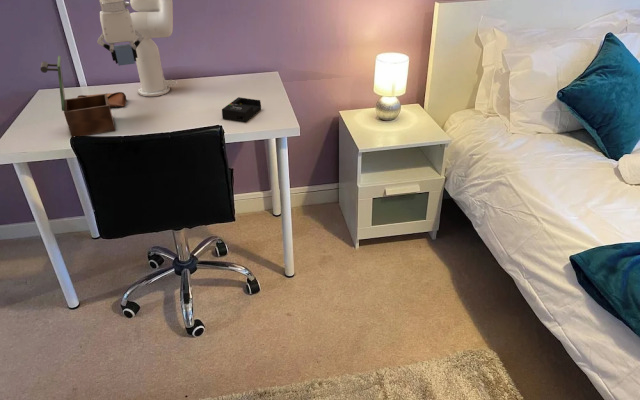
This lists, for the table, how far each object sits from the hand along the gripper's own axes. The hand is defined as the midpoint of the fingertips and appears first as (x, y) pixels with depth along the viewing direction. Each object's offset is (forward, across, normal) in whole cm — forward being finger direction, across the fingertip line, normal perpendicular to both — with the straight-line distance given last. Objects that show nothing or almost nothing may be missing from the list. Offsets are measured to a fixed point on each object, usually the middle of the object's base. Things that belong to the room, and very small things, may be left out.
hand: (125, 60), depth 168 cm
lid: (+4, +21, +2) cm, 22 cm away
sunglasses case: (+22, +12, -17) cm, 30 cm away
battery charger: (+21, -36, +14) cm, 44 cm away
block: (+1, 0, 0) cm, 1 cm away
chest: (+21, +16, +3) cm, 27 cm away
